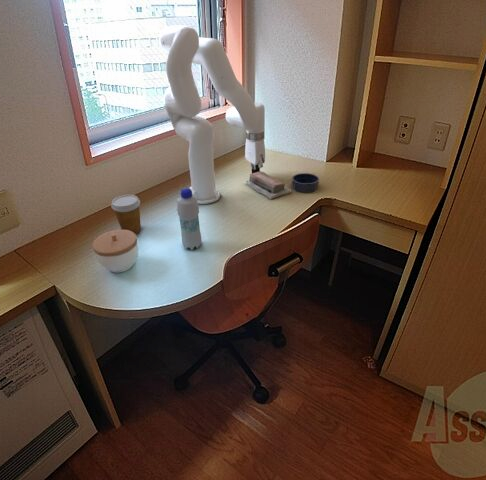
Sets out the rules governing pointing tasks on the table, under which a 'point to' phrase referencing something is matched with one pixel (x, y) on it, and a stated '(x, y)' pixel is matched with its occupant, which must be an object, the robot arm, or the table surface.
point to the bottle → (189, 219)
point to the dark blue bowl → (305, 182)
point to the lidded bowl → (116, 250)
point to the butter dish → (267, 185)
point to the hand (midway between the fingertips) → (255, 176)
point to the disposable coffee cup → (127, 212)
